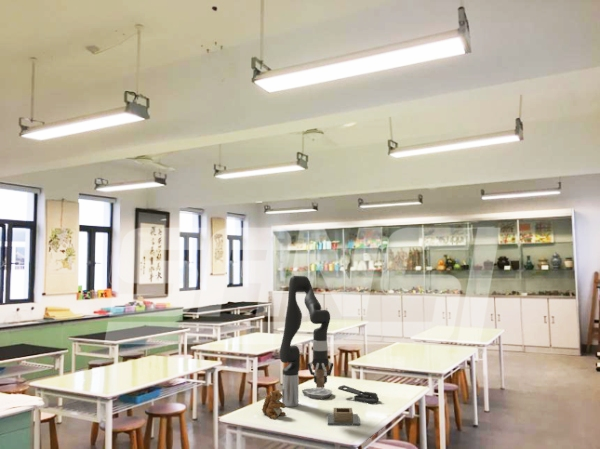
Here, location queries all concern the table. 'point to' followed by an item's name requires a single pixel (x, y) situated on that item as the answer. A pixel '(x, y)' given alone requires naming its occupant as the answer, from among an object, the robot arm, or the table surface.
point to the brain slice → (317, 393)
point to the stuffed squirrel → (273, 404)
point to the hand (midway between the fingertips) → (320, 383)
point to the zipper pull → (361, 395)
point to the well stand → (343, 417)
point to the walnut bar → (319, 378)
